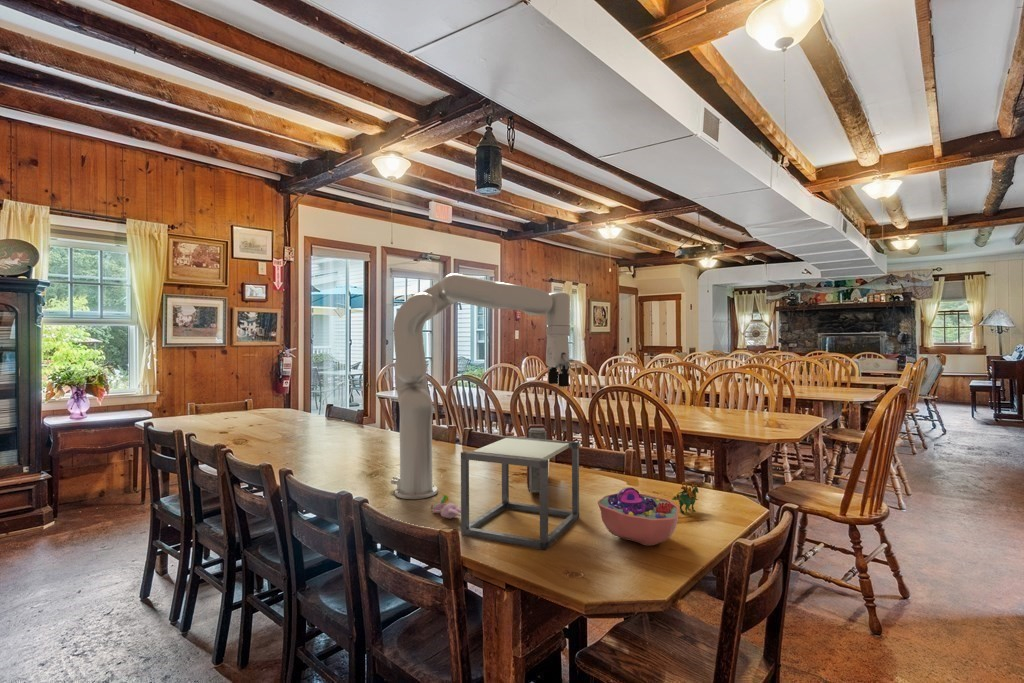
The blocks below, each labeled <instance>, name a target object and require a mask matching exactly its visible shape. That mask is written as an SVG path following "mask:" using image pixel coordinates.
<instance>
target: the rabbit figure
mask: <svg viewBox="0 0 1024 683" xmlns="http://www.w3.org/2000/svg"><path fill="white" fill-rule="evenodd" d="M448 501H449V497H448V495H447V494H443V498H442V499H441V501H440V502H438V503H436V504H435V505H434V504H430V511H432V512H433V513H434V514H440V516H441V517H443V518H446V519H450V520H452V518H453V519H454V518H455V517H457V516H459V517H461V506H460V507H459V506H458V505H457V504H455V503H453V502H449V503H448Z"/></svg>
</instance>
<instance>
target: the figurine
mask: <svg viewBox="0 0 1024 683" xmlns="http://www.w3.org/2000/svg"><path fill="white" fill-rule="evenodd" d="M684 485H685V486H684ZM680 489H681V490H682V491H679V492H678V493H677V494H675V495H674V496H673V497H672V498H671V500H672V501H678V503H679V513H684V514H685V515H686V514H688V515H690V512H688V510H689V511H690V510H692V511H693V512H696V510H695V509H694V508H695V507H694V505H695V504H696V501H699V499H698V498H697V494H698V493H699V488H698V485H697V484H693V483H692V485H691V486H689V487H688V484H687V482H685V481H683V482H681V487H680ZM683 506H685V508H684V510H685V511H684V510H683V508H682V507H683ZM690 506H691V508H690Z"/></svg>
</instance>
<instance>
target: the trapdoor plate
mask: <svg viewBox="0 0 1024 683" xmlns="http://www.w3.org/2000/svg"><path fill="white" fill-rule="evenodd" d="M567 449H569V443H563V442H551V441H540V440H529V439H518V438H504V439H502V438H501V439H499V440H497V441H495V442H492V443H489V444H487V445H485V446H482V447H479V448H477V449H475V450H472V451H471V452H474V453H484V454H493V455H503V456H512V457H522V458H531V459H541V460H548V461H549V459H551V458H553V457H555V456H557V455H558V454H561V453H562V452H563V451H566V450H567Z"/></svg>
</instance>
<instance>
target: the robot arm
mask: <svg viewBox="0 0 1024 683" xmlns="http://www.w3.org/2000/svg"><path fill="white" fill-rule="evenodd" d="M456 302H457V303H461V304H466V305H471V306H476V307H481V308H485V309H493V310H501V309H503V310H504V309H506V310H516V311H522V312H523V313H524V314H526V315H527V316H531V317H535V316H542V315H543V316H544V315H546V316H545V318H546V319H545V320H546V321H545V322H546V324H545V326H546V327H545V328H546V329H545V331H546V337H547V339H546V349H545V352H546V353H545V365H546V366H547V367H548V368H547V371H548V373H547V374H548V378H547V380H548V384H549V385H553V384H554V385H555V384H556V385H557V384H558V387H563V388H565V387H569V385H570V384H569V382H570V379H569V376H570V375H569V374H570V370H569V369H570V362H571V361H570V345H569V344H570V341H569V336H571V327H570V326H571V320H570V319H571V314H570V313H571V303H570V302H571V299H570V295H569V294H568V293H566V292H550V293H549V292H548V291H545V290H543V289H540V288H535V287H530V286H525V285H520V284H519V285H518V284H512V283H507V282H506V283H505V282H504V281H503V282H501V281H496V280H495V281H494V280H491V279H490V280H489V279H487V278H481V277H480V278H479V277H477V276H471V275H467V274H466V275H465V274H461V273H455V272H453V273H449V274H447V275H445V276H444V277H443V278H442V279H441V280H439V281H438V282H437V283H435V284H433V285H432V286H430V287H428V288H427V289H424V290H423V291H421V292H417V293H415V294H414V295H412V296H410V297H409V298H408V299H407V300H405V302H403V303H402V304H401V305H400V307H399V308H398V310H397V312H396V314H395V318H394V320H393V339H394V340H393V343H394V353H395V361H394V375H395V376H394V378H395V384H396V393H397V401H398V406H399V407H398V408H399V476H396V475H393V476H392V479H391V480H390V484H391V485H396V486H397V487H396V488H395V490H394V495H395V496H396V497H397V498H399V499H406V500H419V499H420V500H421V499H426V498H431V497H434V496H435V495H437V494H438V489H439V488H438V487H437V486H436V485H435V484H434V485H433V415H434V414H433V412H434V404H433V399H432V396H431V395H430V394H429V391H428V381H427V371H428V364H427V359H426V354H425V345H424V334H423V332H424V331H423V330H424V325H425V323H426V322H427V321H430V320H431V319H432V318H434V316H436V315H438V314H440V313H441V312H443V311H444V310H446V309H448V308H449V307H450V306H452V305H454V304H455V303H456Z"/></svg>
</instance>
